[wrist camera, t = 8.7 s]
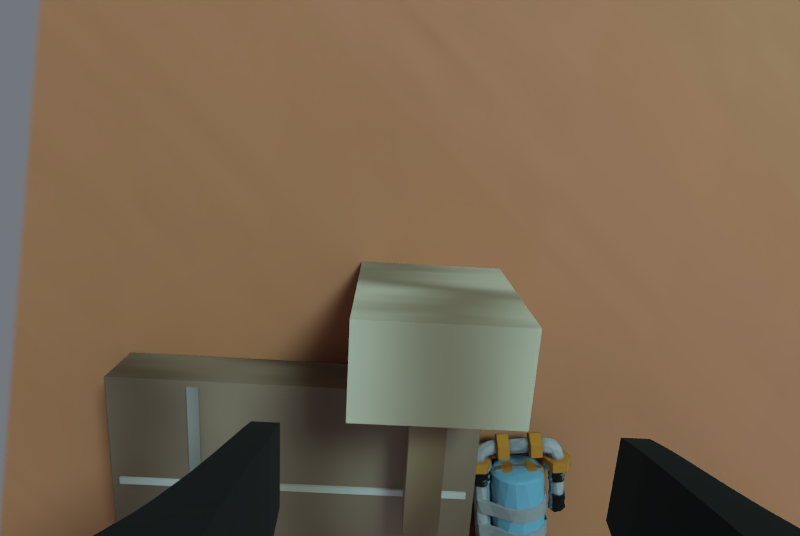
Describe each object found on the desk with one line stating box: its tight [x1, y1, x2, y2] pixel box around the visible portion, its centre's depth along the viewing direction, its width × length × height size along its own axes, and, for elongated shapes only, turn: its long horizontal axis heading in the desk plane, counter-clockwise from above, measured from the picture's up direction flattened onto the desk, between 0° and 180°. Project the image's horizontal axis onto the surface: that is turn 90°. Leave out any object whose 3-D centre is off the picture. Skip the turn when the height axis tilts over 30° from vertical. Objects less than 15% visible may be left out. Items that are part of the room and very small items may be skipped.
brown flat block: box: [104, 353, 481, 536], centre depth 21 cm, size 13×9×2 cm
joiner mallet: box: [346, 262, 542, 536], centre depth 18 cm, size 5×8×6 cm, turn 177°
